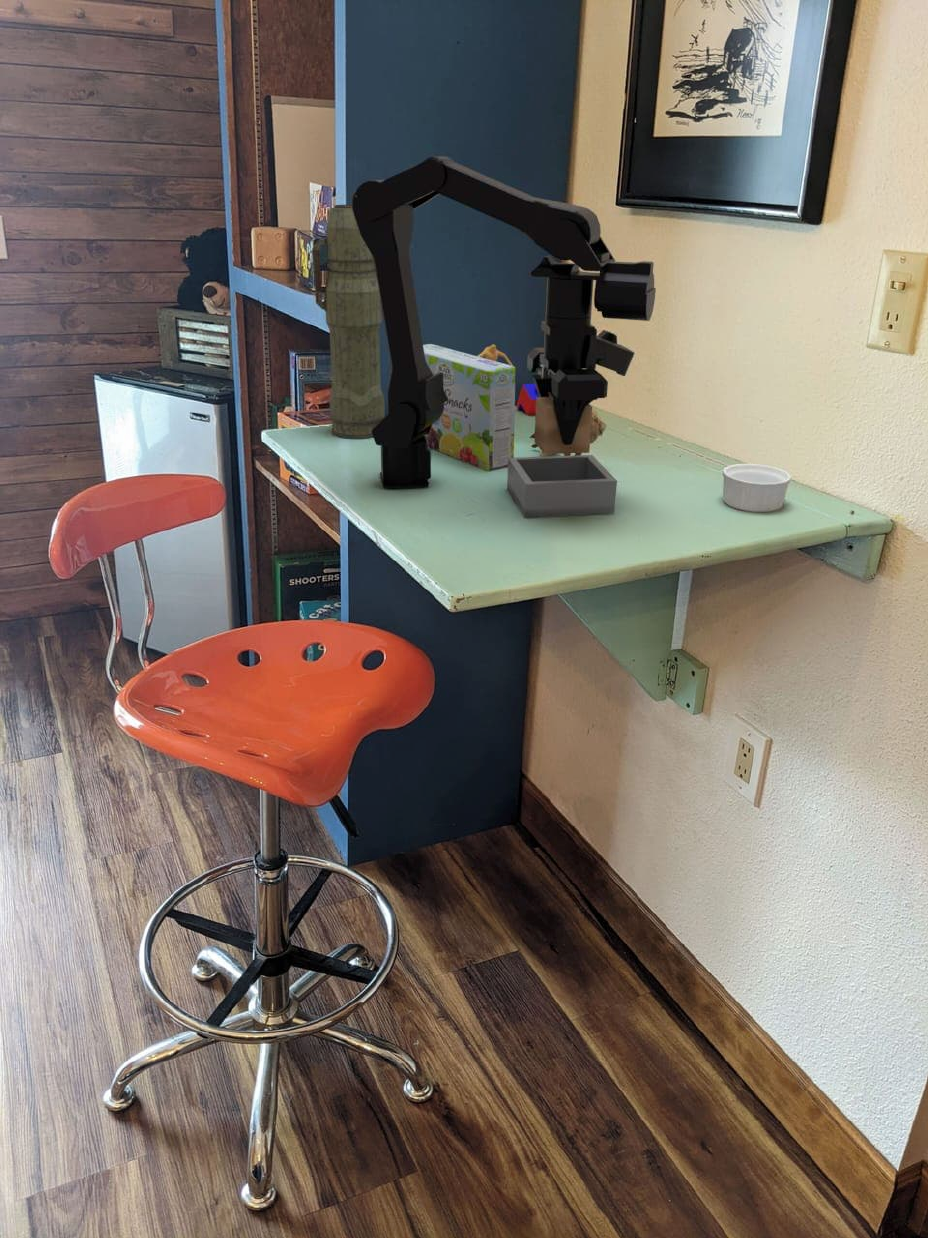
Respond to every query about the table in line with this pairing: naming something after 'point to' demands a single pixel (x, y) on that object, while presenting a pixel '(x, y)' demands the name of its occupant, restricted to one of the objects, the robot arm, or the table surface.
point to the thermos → (351, 326)
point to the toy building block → (528, 399)
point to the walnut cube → (549, 431)
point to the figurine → (493, 354)
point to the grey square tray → (561, 486)
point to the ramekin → (755, 487)
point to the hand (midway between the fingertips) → (561, 437)
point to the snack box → (473, 408)
